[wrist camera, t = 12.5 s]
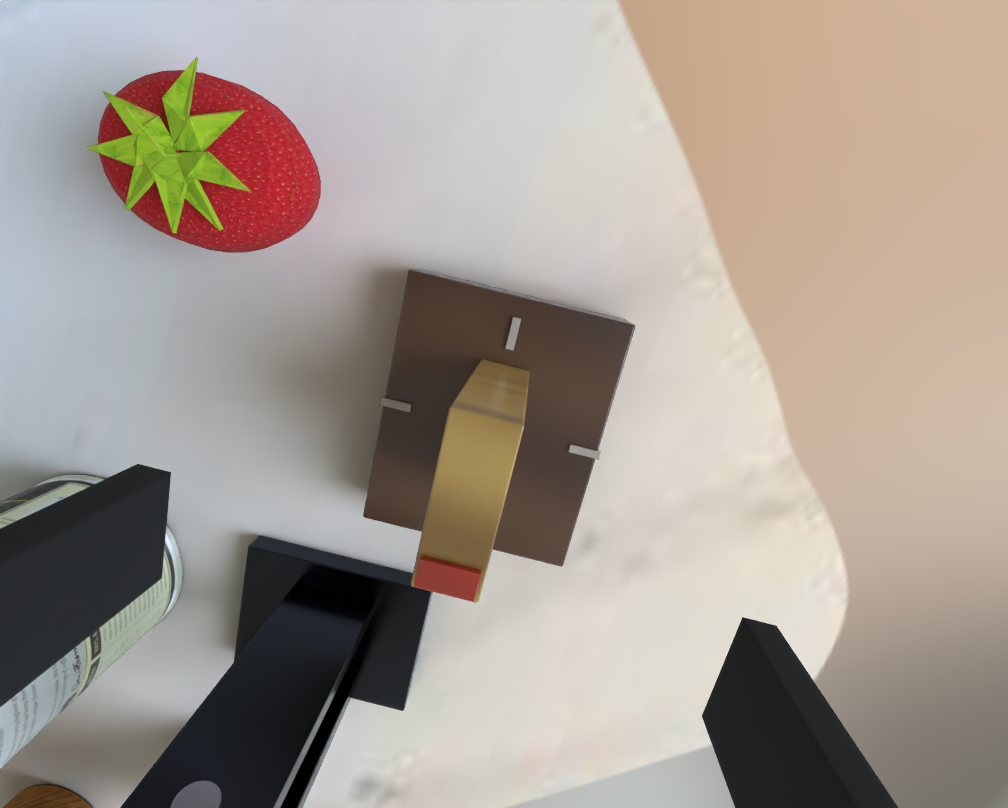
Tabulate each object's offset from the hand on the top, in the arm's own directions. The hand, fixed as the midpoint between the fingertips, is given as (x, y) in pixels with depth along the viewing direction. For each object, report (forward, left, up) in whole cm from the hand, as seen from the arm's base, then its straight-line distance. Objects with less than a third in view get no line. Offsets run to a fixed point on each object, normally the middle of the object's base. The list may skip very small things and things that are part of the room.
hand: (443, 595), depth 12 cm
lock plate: (0, 0, -15) cm, 15 cm away
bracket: (+14, -6, -15) cm, 21 cm away
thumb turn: (0, 0, -12) cm, 12 cm away
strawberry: (-8, -12, -15) cm, 21 cm away
